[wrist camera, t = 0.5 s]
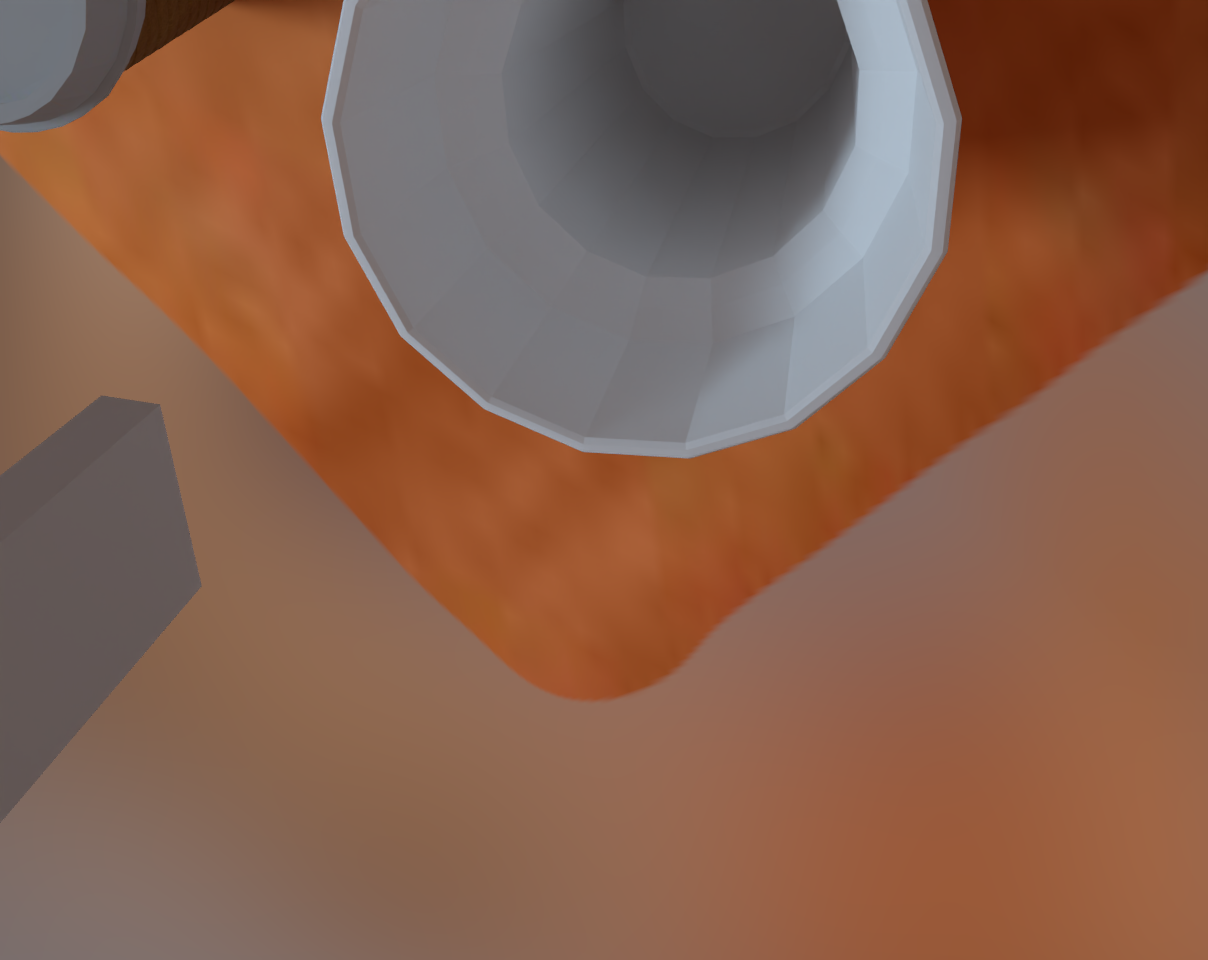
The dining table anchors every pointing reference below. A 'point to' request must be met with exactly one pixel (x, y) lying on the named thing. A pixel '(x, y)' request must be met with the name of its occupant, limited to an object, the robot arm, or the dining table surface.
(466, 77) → the cup
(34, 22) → the disposable coffee cup
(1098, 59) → the dining table surface
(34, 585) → the robot arm
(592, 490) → the dining table surface
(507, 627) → the dining table surface
